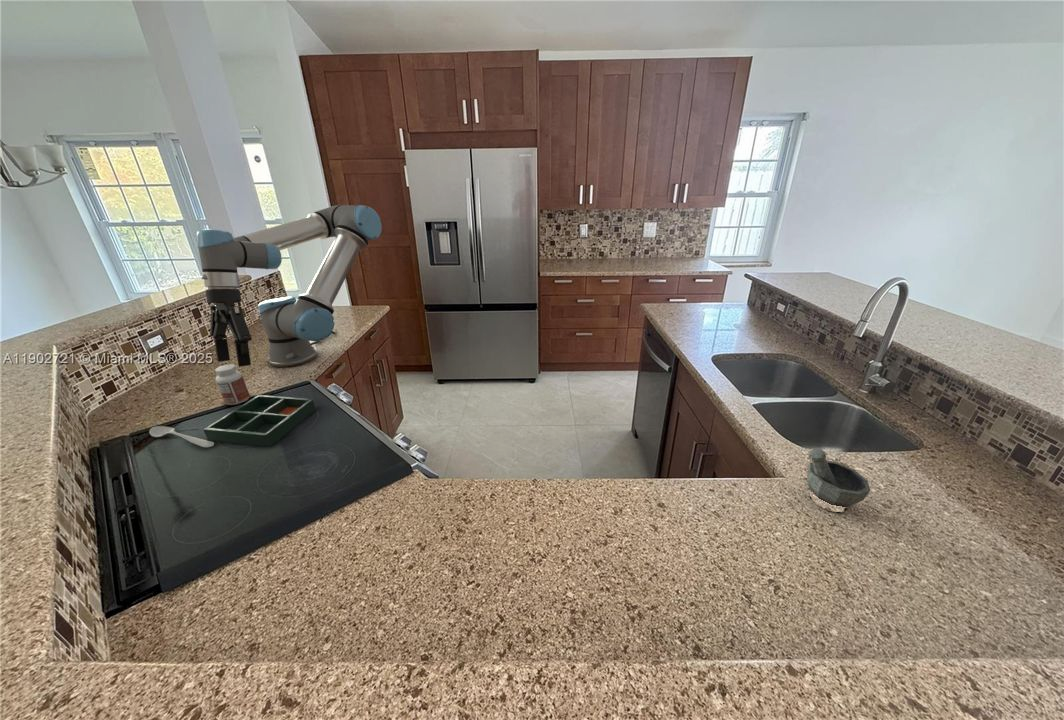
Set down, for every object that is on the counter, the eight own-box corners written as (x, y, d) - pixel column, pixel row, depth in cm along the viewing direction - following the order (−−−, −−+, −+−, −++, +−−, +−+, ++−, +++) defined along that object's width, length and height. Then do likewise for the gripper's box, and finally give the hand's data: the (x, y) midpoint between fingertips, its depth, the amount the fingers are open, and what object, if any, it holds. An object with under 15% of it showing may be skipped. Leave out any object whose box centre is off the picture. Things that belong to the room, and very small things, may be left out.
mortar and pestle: (843, 489, 79) (864, 444, 74) (867, 524, 71) (892, 476, 66) (784, 480, 82) (801, 436, 77) (801, 512, 74) (821, 465, 69)
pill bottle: (249, 393, 116) (237, 361, 111) (251, 401, 111) (239, 368, 107) (224, 399, 112) (211, 366, 107) (225, 408, 108) (211, 374, 103)
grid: (262, 404, 109) (258, 394, 108) (316, 409, 107) (313, 399, 106) (207, 440, 94) (202, 429, 92) (269, 446, 92) (265, 435, 90)
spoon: (163, 427, 99) (161, 422, 98) (221, 441, 94) (219, 435, 93) (145, 436, 95) (142, 431, 94) (204, 451, 90) (201, 445, 89)
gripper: (188, 288, 106) (200, 361, 110) (225, 288, 93) (237, 370, 97) (220, 288, 112) (230, 357, 116) (259, 288, 99) (269, 365, 103)
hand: (234, 363), depth 107 cm, fingers open, 13 cm apart
